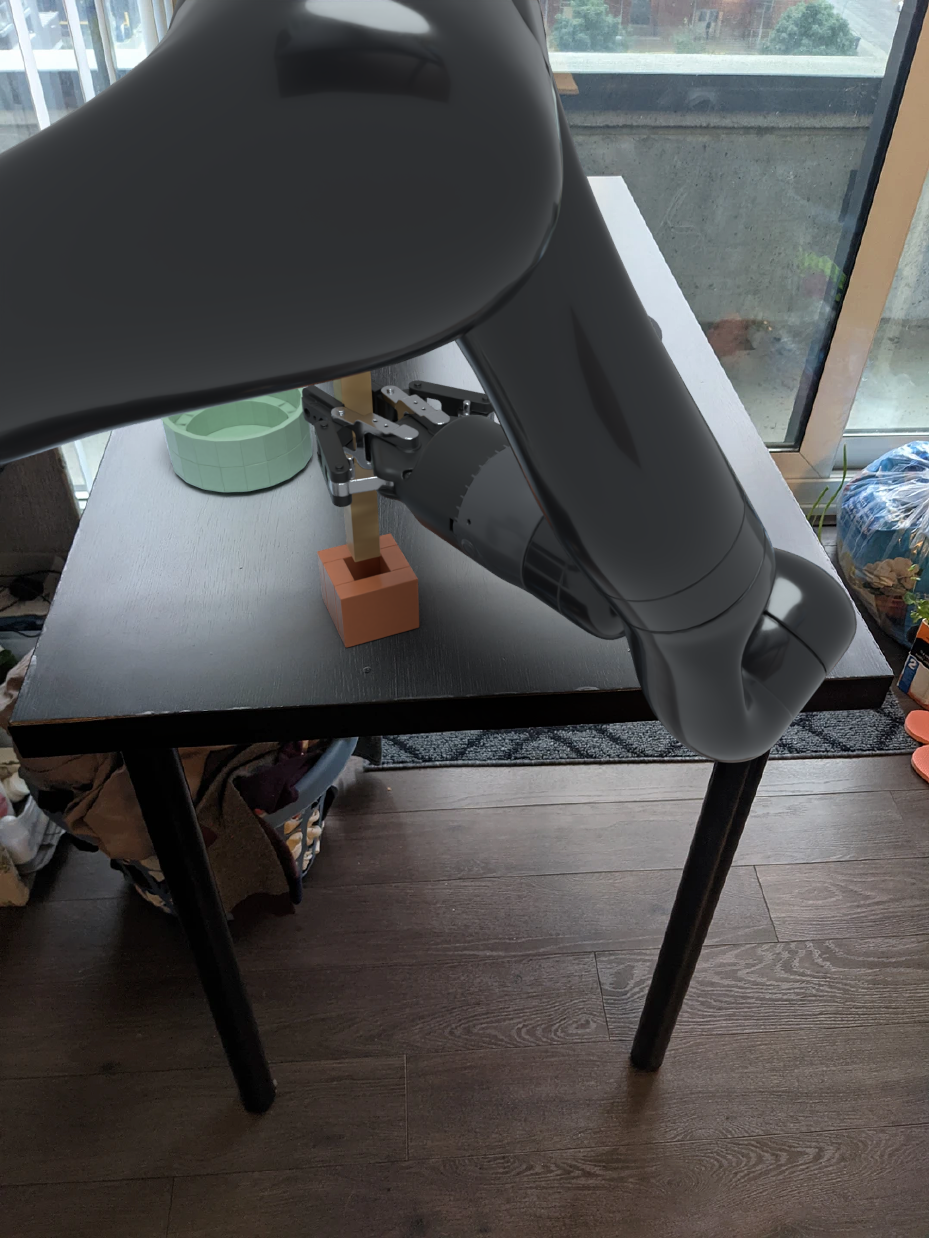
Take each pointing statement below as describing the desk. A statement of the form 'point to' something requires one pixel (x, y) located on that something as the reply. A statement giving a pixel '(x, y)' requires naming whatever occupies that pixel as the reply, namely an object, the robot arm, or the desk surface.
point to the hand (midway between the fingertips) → (326, 392)
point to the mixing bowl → (240, 443)
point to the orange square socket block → (369, 592)
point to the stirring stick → (365, 504)
